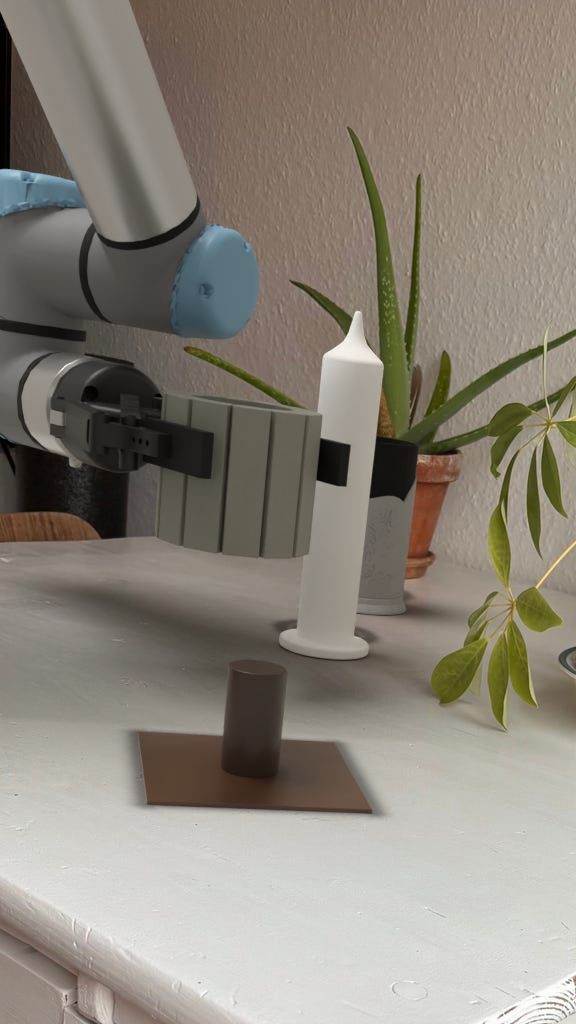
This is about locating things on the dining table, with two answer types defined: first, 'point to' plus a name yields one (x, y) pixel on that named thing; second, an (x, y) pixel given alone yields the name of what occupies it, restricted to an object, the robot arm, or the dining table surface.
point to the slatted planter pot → (242, 478)
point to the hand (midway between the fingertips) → (279, 460)
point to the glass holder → (388, 527)
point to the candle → (340, 505)
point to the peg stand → (249, 756)
